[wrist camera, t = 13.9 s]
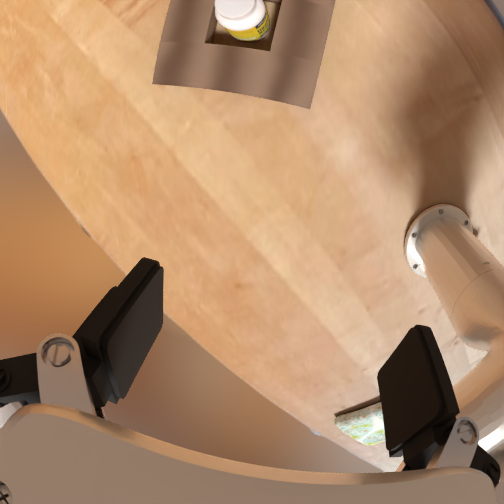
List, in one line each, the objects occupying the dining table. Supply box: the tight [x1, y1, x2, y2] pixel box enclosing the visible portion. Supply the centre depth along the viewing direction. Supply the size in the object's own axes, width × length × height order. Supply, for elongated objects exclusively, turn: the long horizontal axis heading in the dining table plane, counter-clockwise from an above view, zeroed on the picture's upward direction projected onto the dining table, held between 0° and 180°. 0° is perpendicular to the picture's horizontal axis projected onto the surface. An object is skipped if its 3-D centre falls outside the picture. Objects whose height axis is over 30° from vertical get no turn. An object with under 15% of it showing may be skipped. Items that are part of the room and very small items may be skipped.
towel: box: [334, 402, 386, 445], centre depth 61 cm, size 18×21×5 cm
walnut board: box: [152, 0, 335, 109], centre depth 26 cm, size 20×20×3 cm
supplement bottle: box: [215, 0, 270, 42], centre depth 23 cm, size 5×5×10 cm
